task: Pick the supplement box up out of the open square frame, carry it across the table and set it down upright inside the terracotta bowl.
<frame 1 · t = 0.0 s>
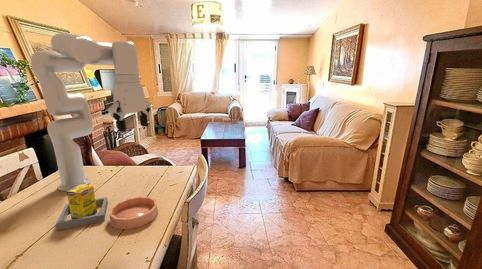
hand: (133, 128, 89), 31 cm above the table, tool pointing down, fingers open, 9 cm apart
bowl: (135, 215, 90), on the table
supplement box: (85, 216, 91), resting in open square frame
open square frame: (84, 215, 91), on the table
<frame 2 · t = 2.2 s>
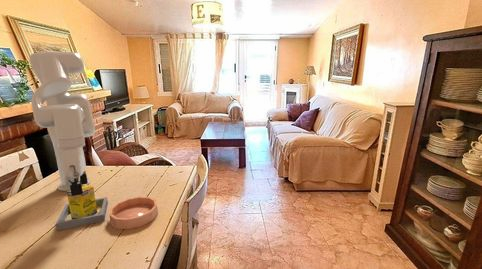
hand: (80, 189, 88), 11 cm above the table, tool pointing down, fingers open, 9 cm apart
supplement box: (85, 216, 91), resting in open square frame, touching gripper
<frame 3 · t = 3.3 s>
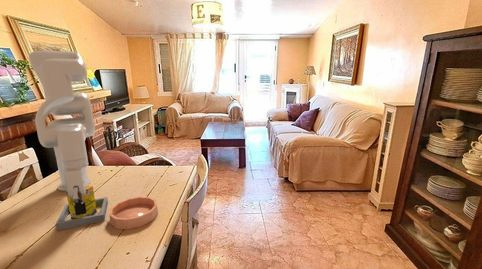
hand: (83, 207, 90), 3 cm above the table, tool pointing down, fingers closed on supplement box, 8 cm apart
supplement box: (84, 216, 91), resting in open square frame, touching gripper
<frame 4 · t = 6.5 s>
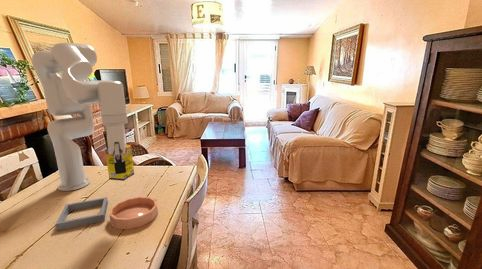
hand: (121, 168, 86), 18 cm above the table, tool pointing down, fingers closed on supplement box, 8 cm apart
supplement box: (122, 177, 87), point 15 cm above the table, touching gripper
when the fingers open (5 cm above the table, at t = 9.8 s): supplement box drops 1 cm, resting on bowl.
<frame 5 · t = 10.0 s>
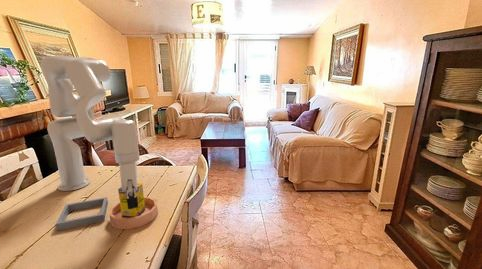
hand: (133, 201, 89), 6 cm above the table, tool pointing down, fingers open, 9 cm apart
supplement box: (134, 214, 90), point 1 cm above the table, touching bowl
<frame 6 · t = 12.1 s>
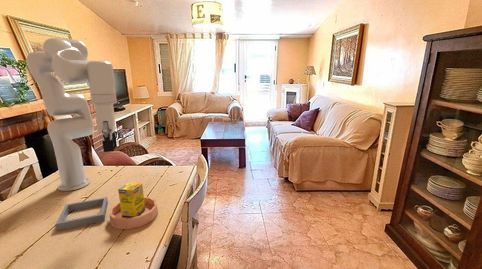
hand: (110, 147, 88), 25 cm above the table, tool pointing down, fingers open, 9 cm apart
nothing on the table moved.
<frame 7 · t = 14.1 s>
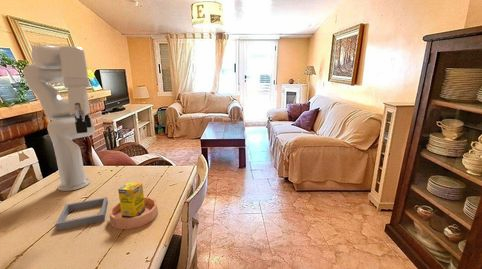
hand: (84, 130, 92), 30 cm above the table, tool pointing down, fingers open, 9 cm apart
nothing on the table moved.
at the end: supplement box inside the target area on the bowl (0.4 cm from its centre), point 0.6 cm above the bowl's base; supplement box tilted 0°; the gripper is holding nothing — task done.
